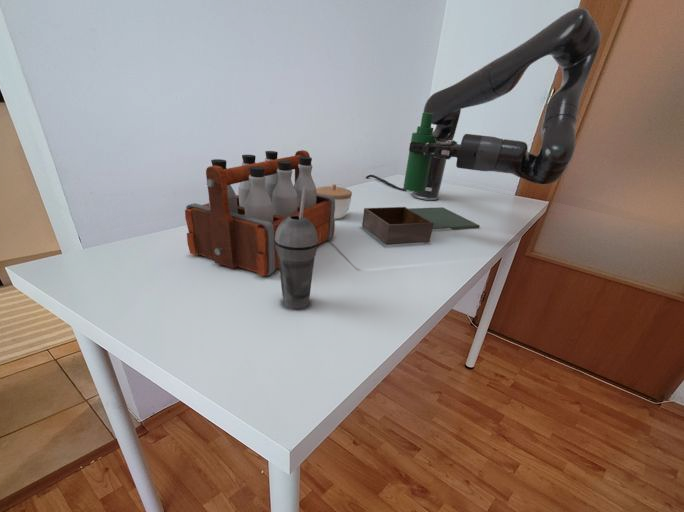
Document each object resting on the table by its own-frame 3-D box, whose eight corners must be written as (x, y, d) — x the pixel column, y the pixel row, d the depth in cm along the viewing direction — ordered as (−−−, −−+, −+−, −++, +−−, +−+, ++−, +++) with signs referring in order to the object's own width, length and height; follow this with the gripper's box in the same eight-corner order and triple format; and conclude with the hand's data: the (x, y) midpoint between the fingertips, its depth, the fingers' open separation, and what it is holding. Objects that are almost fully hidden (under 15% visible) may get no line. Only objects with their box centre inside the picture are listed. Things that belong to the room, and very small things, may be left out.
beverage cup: (276, 293, 69) (273, 180, 57) (315, 294, 70) (319, 182, 58) (275, 312, 63) (271, 191, 51) (316, 313, 64) (322, 193, 52)
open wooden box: (361, 227, 105) (364, 208, 102) (401, 225, 109) (405, 206, 106) (385, 246, 94) (388, 225, 90) (429, 243, 98) (433, 223, 94)
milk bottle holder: (338, 236, 98) (345, 155, 86) (259, 283, 72) (253, 177, 60) (274, 220, 105) (272, 144, 93) (180, 257, 79) (162, 159, 68)
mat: (397, 211, 122) (397, 208, 121) (442, 209, 127) (443, 207, 127) (429, 230, 107) (430, 228, 106) (478, 228, 113) (479, 225, 112)
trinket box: (332, 210, 117) (334, 179, 111) (356, 219, 111) (360, 186, 105) (307, 215, 111) (308, 182, 105) (331, 225, 105) (333, 190, 99)
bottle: (399, 186, 100) (411, 111, 90) (418, 186, 102) (431, 112, 92) (410, 191, 96) (424, 113, 86) (429, 191, 98) (445, 114, 87)
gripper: (485, 133, 92) (420, 126, 97) (482, 138, 82) (409, 130, 86) (477, 165, 97) (415, 157, 101) (472, 174, 86) (403, 165, 90)
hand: (412, 145), depth 94 cm, fingers closed on bottle, 6 cm apart
